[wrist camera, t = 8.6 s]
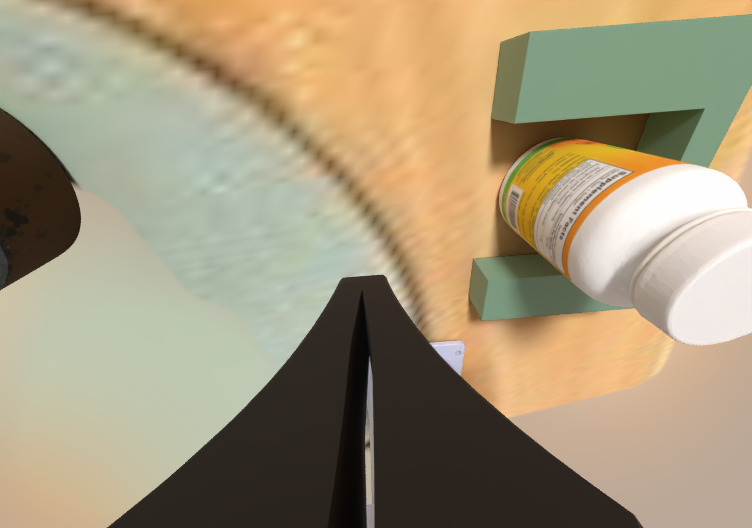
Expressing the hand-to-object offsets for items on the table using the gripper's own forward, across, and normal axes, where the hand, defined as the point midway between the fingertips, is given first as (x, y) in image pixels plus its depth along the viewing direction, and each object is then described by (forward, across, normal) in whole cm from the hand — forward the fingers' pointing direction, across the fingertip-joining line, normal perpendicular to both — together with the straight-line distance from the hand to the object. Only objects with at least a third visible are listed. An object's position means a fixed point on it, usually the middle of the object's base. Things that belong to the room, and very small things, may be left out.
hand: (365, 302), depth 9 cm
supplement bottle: (+8, -10, 0) cm, 13 cm away
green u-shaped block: (+8, -11, 0) cm, 14 cm away
